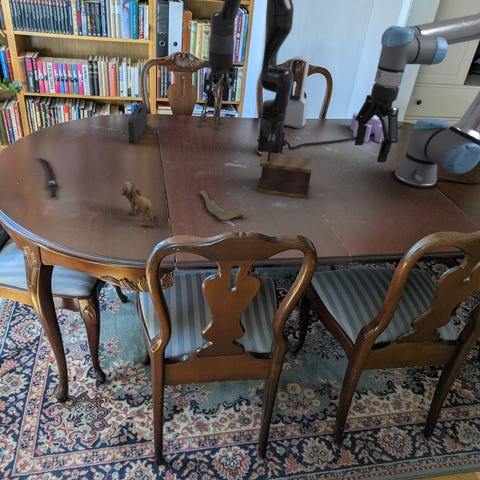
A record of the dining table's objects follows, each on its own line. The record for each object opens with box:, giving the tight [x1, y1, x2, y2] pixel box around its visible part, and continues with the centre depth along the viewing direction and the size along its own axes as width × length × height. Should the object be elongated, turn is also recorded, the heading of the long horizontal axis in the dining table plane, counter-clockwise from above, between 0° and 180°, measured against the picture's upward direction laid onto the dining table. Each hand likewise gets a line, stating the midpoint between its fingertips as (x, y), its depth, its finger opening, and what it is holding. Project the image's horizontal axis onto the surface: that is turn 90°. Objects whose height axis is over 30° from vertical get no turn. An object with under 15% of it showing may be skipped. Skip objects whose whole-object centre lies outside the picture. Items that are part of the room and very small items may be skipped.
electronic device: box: [284, 55, 311, 130], centre depth 209 cm, size 12×8×30 cm, turn 71°
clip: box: [349, 112, 384, 144], centre depth 214 cm, size 20×12×7 cm, turn 11°
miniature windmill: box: [198, 60, 222, 130], centre depth 199 cm, size 9×8×30 cm
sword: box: [40, 158, 59, 198], centre depth 151 cm, size 31×3×1 cm, turn 26°
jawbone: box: [199, 190, 251, 222], centre depth 143 cm, size 9×20×2 cm, turn 50°
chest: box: [258, 167, 312, 199], centre depth 158 cm, size 16×10×9 cm, turn 83°
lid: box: [259, 134, 313, 174], centre depth 154 cm, size 17×10×9 cm, turn 83°
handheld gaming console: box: [127, 102, 148, 144], centre depth 187 cm, size 23×3×10 cm, turn 178°
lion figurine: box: [119, 181, 159, 227], centre depth 134 cm, size 15×5×9 cm, turn 50°
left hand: (218, 103), depth 149 cm, fingers open, 8 cm apart
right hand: (369, 153), depth 148 cm, fingers open, 13 cm apart
